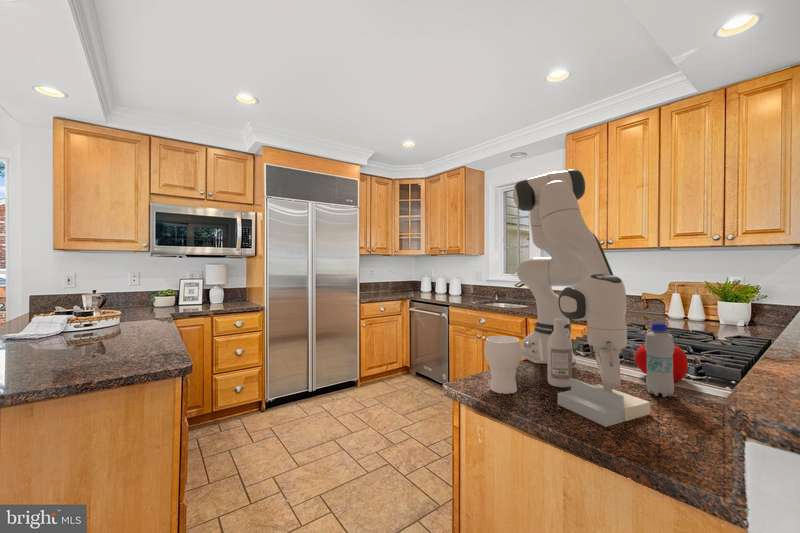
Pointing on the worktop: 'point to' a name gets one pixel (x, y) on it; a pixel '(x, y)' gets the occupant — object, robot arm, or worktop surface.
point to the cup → (503, 362)
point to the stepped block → (593, 403)
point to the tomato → (678, 362)
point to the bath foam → (559, 356)
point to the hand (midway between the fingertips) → (607, 391)
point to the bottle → (659, 361)
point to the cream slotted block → (632, 405)
